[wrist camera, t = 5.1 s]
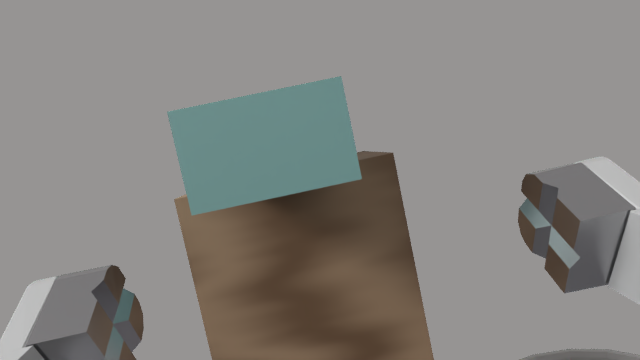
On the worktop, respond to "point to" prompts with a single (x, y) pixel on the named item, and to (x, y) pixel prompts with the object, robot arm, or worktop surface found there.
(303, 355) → the stand
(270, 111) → the block
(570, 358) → the plastic cup
